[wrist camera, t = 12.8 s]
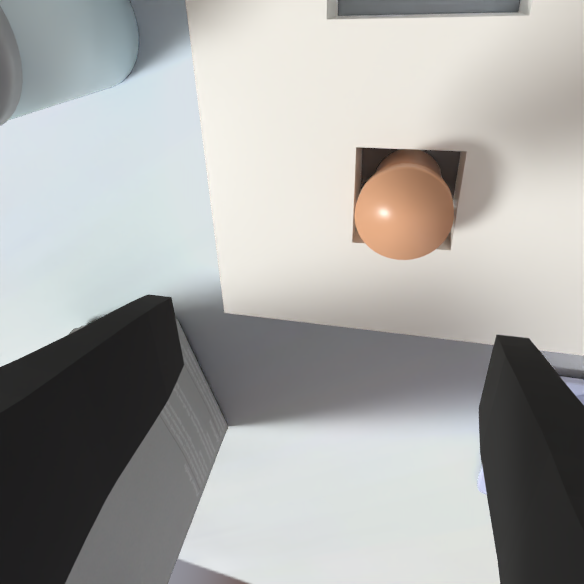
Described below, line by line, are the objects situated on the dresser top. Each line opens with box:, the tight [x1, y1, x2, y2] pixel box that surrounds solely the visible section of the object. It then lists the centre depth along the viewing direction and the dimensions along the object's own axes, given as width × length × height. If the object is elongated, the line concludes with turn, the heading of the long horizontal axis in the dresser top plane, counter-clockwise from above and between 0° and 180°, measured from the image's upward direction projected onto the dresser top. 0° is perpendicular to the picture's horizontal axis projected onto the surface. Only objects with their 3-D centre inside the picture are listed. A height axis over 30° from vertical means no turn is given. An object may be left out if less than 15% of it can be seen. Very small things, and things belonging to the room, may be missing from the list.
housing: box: [185, 0, 584, 356], centre depth 14 cm, size 14×20×2 cm
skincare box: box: [65, 317, 228, 584], centre depth 20 cm, size 8×7×16 cm
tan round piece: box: [355, 149, 454, 260], centre depth 16 cm, size 3×3×3 cm
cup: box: [0, 0, 139, 126], centre depth 15 cm, size 4×4×7 cm
